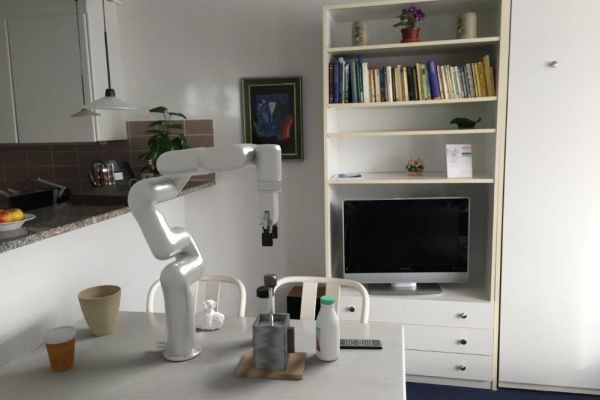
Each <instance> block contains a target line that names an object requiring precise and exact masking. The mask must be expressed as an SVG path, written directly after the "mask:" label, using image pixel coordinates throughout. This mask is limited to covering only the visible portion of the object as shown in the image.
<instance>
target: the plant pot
mask: <svg viewBox="0 0 600 400" xmlns="http://www.w3.org/2000/svg"><path fill="white" fill-rule="evenodd" d="M77 298H78V302H79V306H80V310H81V313H82V314H83V317H84V321H85V322H86V324H87V327H88V328H89V330H90V332H91V334H92V335H93V336H96V337H104V336H108V335H109V334H112V333H113V332H114V331H115V328H116V325H117V321H118V317H119V311H120V307H121V299H122V287H121V286H119V285H115V284H102V285H94V286H90V287H87V288H85V289H82V290H80V291H79V292H78V293H77Z"/></svg>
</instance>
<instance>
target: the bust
mask: <svg viewBox="0 0 600 400" xmlns="http://www.w3.org/2000/svg"><path fill="white" fill-rule="evenodd" d="M217 303H218V302H216V301H215V300H214V299H207V300H205V301H203V302H201V304H202V306H203V308H204V311H200V312H198V313H195V326H196V328H197V329H200V330H202V331H204V330H206V331H208V330H209V331H210V330H211V331H214V330H218V329H221V328H222V327H223V324H224V322H225V315H224V314H223V313H220V312H219V311H215V310H214V308H216V305H217Z"/></svg>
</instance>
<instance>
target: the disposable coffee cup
mask: <svg viewBox="0 0 600 400" xmlns="http://www.w3.org/2000/svg"><path fill="white" fill-rule="evenodd" d="M77 334H78V333H77V330H76V329H75V327H74V326H71V325H61V326H57V327H53V328H51V329H47V330H46V331H45V332H44V333H43V336H42V341H43V342H44V343H45V344H44V345H45V348H46V352H47V356H48V359H49V363H50V367H51V370H52V371H53V372H54V373H59V372H61V373H62V372H66V371H68V370H70V369H72V368H73V367H74V366H75V350H76V335H77Z"/></svg>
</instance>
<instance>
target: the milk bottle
mask: <svg viewBox="0 0 600 400" xmlns="http://www.w3.org/2000/svg"><path fill="white" fill-rule="evenodd" d="M319 300H320V301H319V302H320V310H319V312H318V315H317V316H316V321H315V352H316V353H315V355H316V357H317V358H318V359H319V360H321V361H326V362H331V361H335V360H337V359H339V357H340V356H341V354H340V352H341V348H340V347H341V346H340V345H341V344H340V342H341V341H340V340H341V339H340V338H341V337H340V334H341V332H340V318H339V317H338V314H337V312H336V308H335V302H336V301H335V297H334V296H333V295H322V296H320V298H319Z"/></svg>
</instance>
